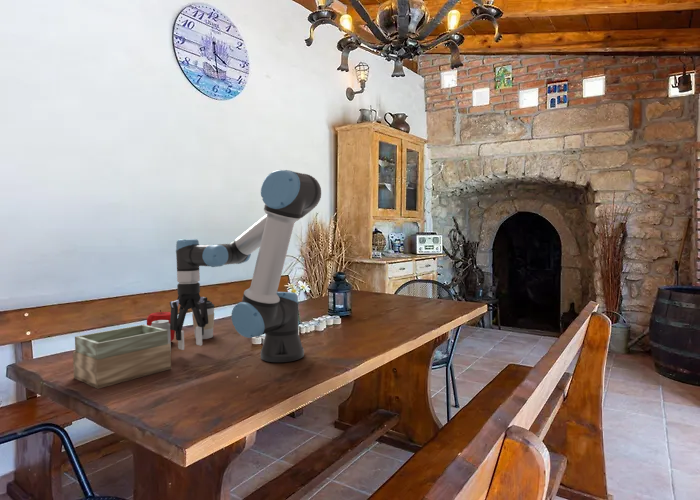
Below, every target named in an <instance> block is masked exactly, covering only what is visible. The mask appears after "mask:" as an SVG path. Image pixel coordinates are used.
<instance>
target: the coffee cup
mask: <svg viewBox="0 0 700 500" xmlns="http://www.w3.org/2000/svg"><path fill="white" fill-rule="evenodd" d="M198 306H199V311H200V314H201V310H200V302H198ZM191 312H192V314H191V315H192V325H193V332H194V338H195V339H196V327H197V326H198V325H197V322H196V319H195V316H194V313H193V311H192V310H191ZM207 313H208V324H206V325H205V327H204V334H203V335H202V340H209V339H211V338H213V337H214V327H215V326H214V325H215V324H214V323H215V304H214V303H213V302H212V301H210V300H209V299H207Z"/></svg>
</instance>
